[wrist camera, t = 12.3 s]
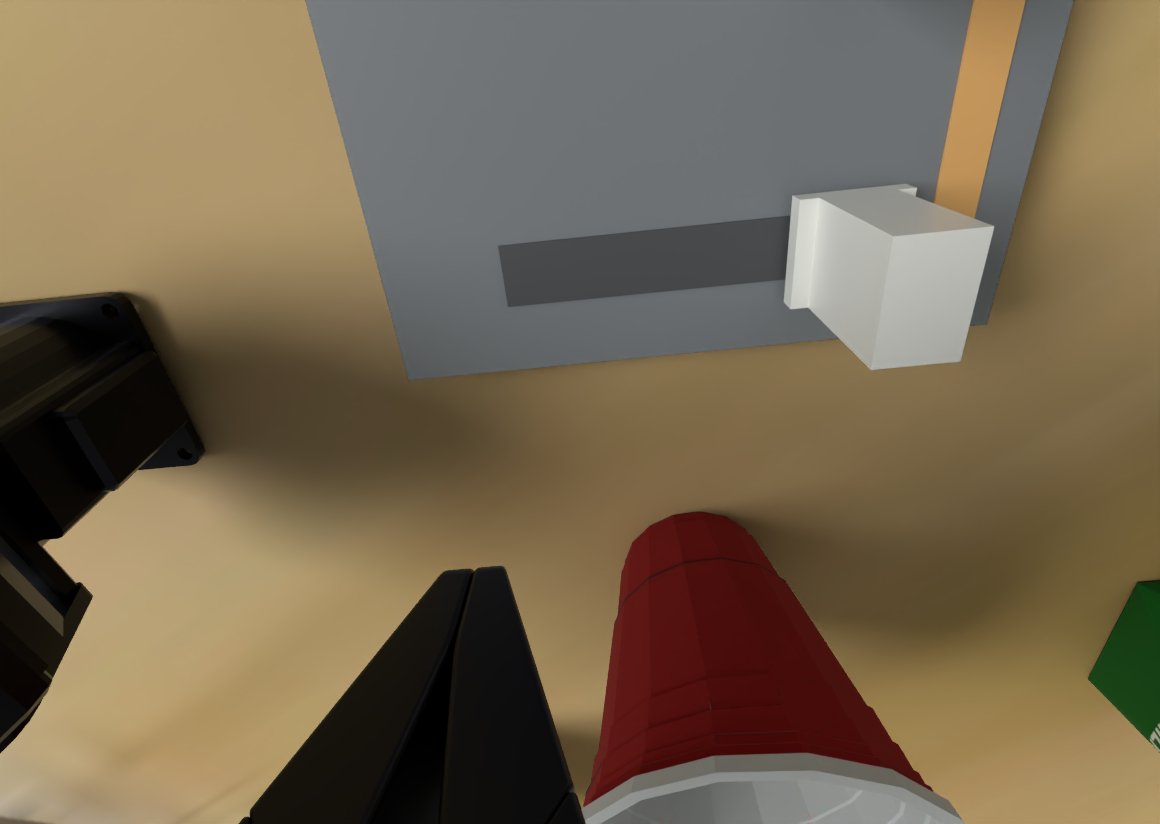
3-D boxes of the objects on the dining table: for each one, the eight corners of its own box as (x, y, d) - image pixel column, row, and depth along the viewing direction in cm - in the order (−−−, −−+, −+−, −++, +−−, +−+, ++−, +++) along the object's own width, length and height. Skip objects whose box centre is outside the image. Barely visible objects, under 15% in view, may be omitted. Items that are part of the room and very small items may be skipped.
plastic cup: (521, 505, 24) (489, 840, 14) (788, 426, 22) (981, 739, 12) (605, 667, 29) (628, 998, 19) (826, 613, 28) (983, 942, 17)
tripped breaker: (783, 301, 17) (848, 372, 13) (792, 195, 16) (868, 238, 12) (887, 291, 17) (983, 359, 13) (905, 183, 16) (1019, 223, 12)
